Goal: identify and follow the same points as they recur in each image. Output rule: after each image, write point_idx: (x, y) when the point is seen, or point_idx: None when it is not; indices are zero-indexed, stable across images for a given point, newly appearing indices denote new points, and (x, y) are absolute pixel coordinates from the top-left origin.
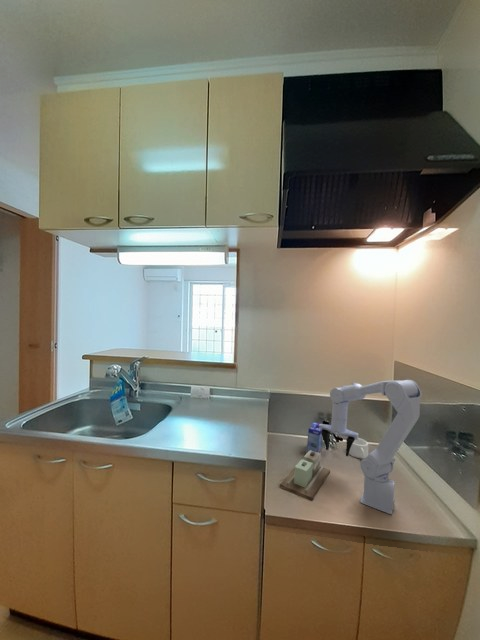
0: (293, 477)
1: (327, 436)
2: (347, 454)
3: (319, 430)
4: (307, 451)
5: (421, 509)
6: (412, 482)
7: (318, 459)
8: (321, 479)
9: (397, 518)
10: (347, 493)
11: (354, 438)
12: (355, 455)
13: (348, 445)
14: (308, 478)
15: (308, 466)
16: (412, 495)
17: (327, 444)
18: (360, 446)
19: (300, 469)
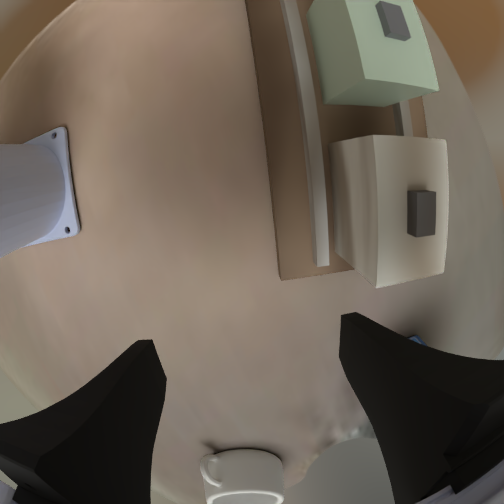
0: None
1: (432, 412)
2: (129, 348)
3: None
4: (420, 343)
5: None
6: (49, 405)
7: (365, 228)
8: (279, 136)
9: None
10: (127, 148)
11: (11, 494)
12: (236, 454)
13: (70, 409)
14: (322, 31)
15: (359, 16)
16: (9, 338)
17: (370, 347)
18: (222, 489)
19: None
